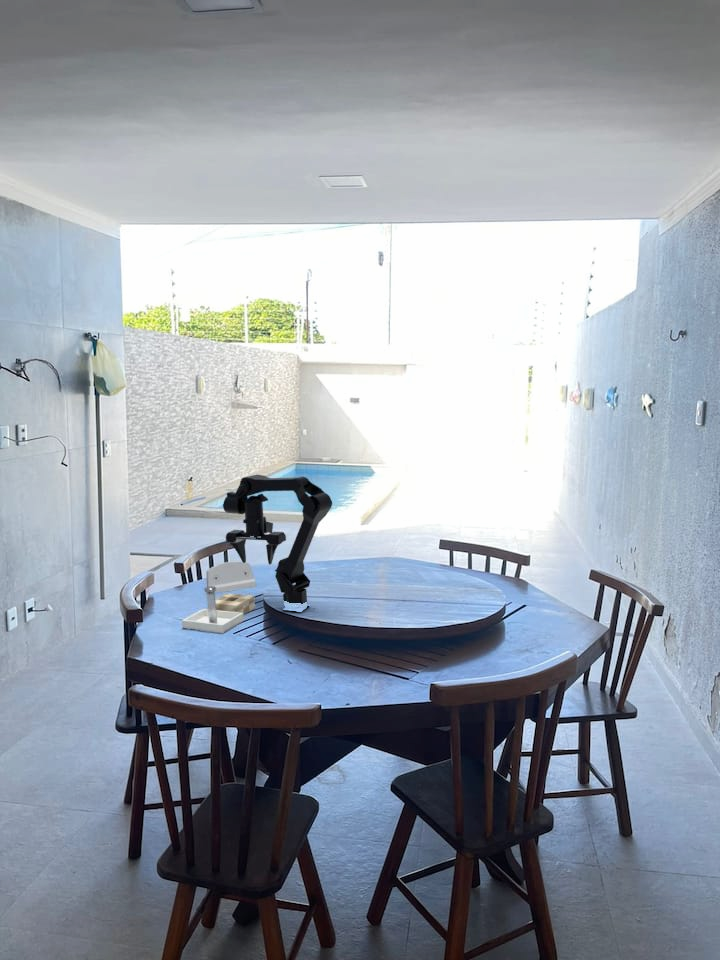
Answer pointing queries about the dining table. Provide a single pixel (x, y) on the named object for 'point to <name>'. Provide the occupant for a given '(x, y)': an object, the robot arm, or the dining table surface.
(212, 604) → the pin
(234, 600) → the block
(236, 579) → the hinge
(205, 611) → the tray
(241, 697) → the dining table surface
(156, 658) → the dining table surface
